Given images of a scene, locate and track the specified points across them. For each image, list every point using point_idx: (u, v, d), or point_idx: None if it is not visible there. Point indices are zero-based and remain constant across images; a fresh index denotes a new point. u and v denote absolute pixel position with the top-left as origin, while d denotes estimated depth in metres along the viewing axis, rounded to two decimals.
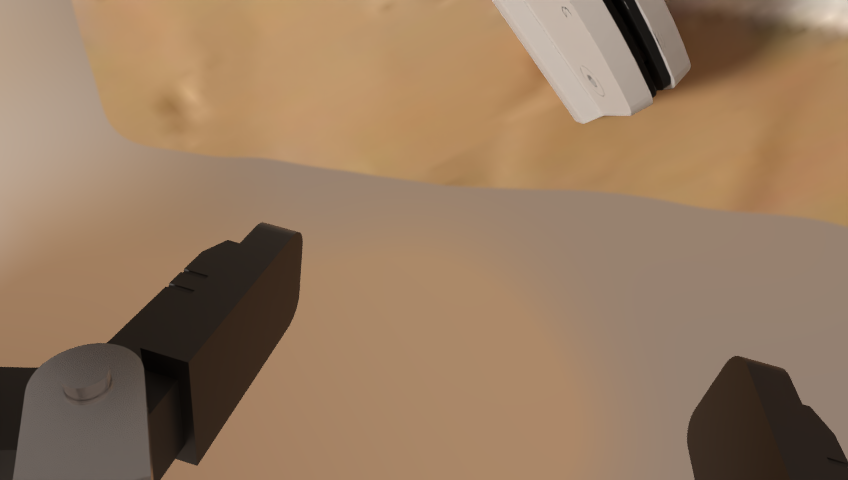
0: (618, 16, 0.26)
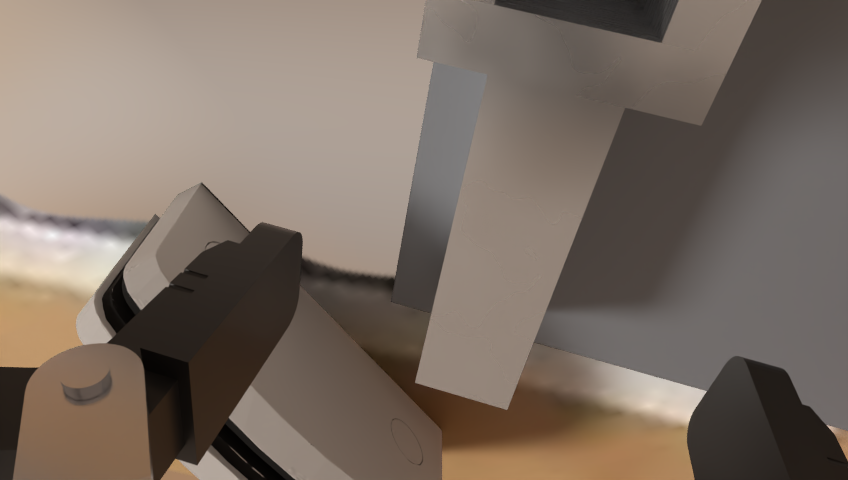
0: None
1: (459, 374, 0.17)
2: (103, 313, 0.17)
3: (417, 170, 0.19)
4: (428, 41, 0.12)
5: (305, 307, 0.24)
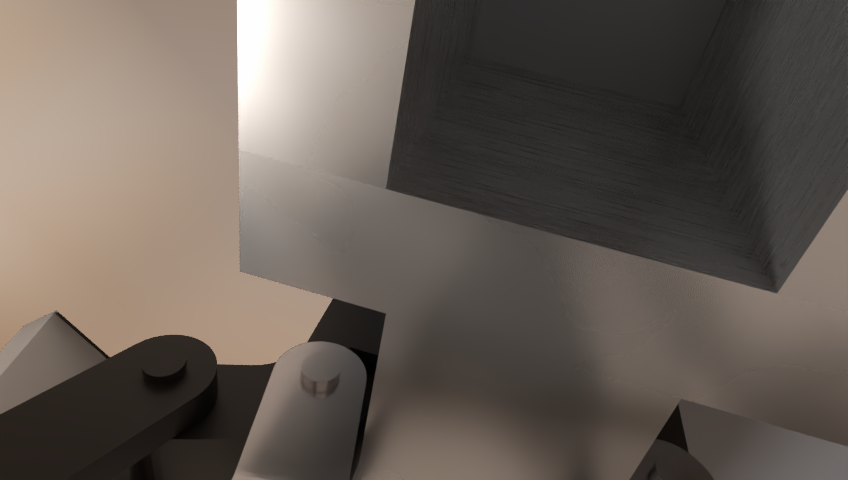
0: None
1: None
2: None
3: None
4: (257, 245, 0.06)
5: None
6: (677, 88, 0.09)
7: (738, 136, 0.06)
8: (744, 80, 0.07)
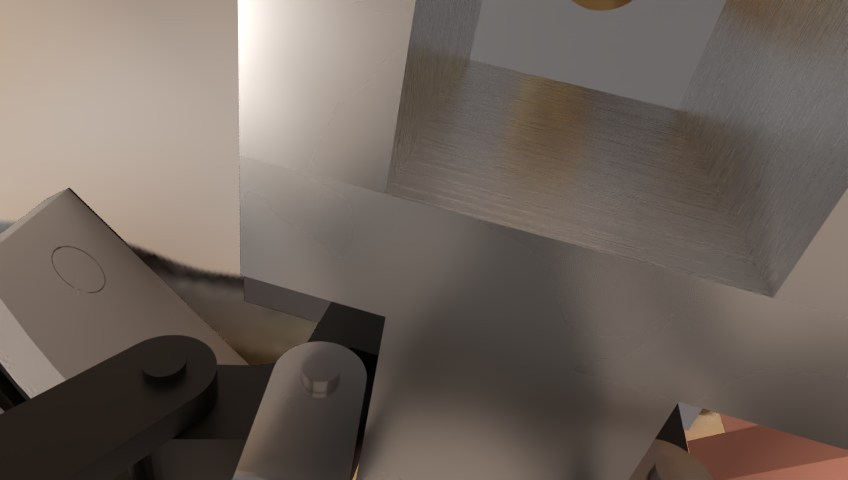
0: None
1: None
2: None
3: None
4: (258, 249, 0.06)
5: (172, 310, 0.24)
6: None
7: (736, 140, 0.06)
8: (742, 84, 0.07)
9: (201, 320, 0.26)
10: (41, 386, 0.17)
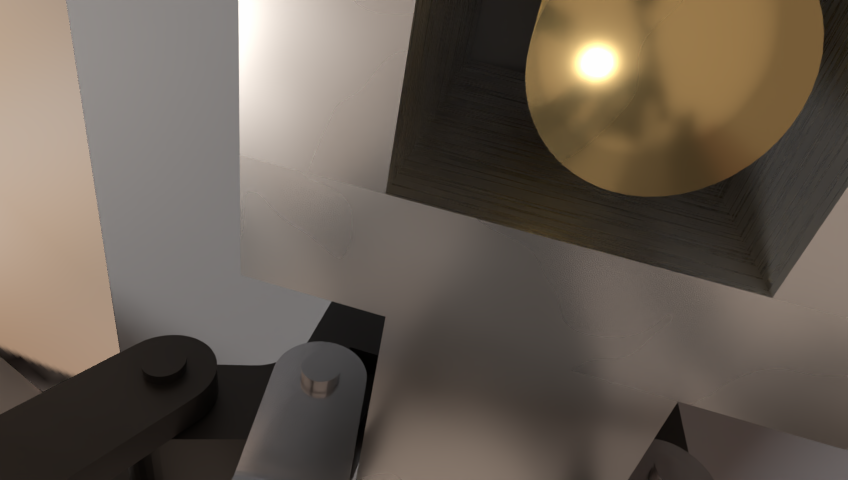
0: None
1: None
2: None
3: (111, 275, 0.14)
4: (258, 249, 0.06)
5: None
6: None
7: None
8: None
9: None
10: None
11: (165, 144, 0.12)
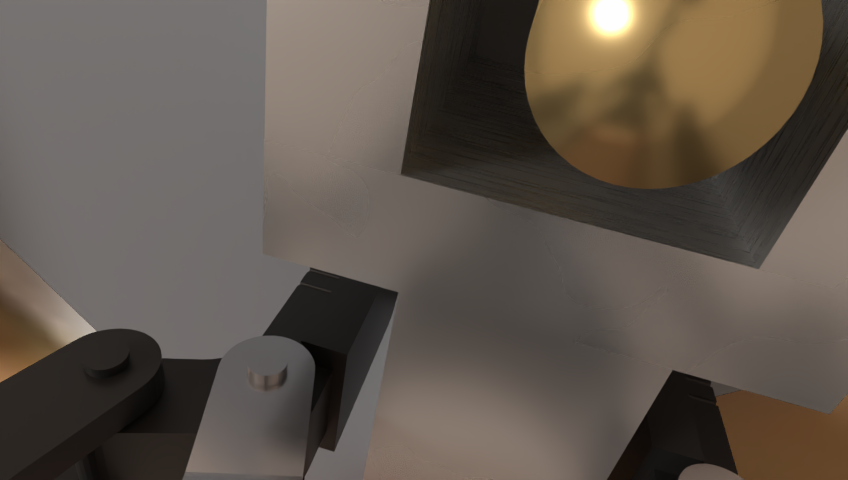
0: None
1: None
2: None
3: None
4: (280, 229, 0.06)
5: None
6: None
7: None
8: None
9: None
10: None
11: None
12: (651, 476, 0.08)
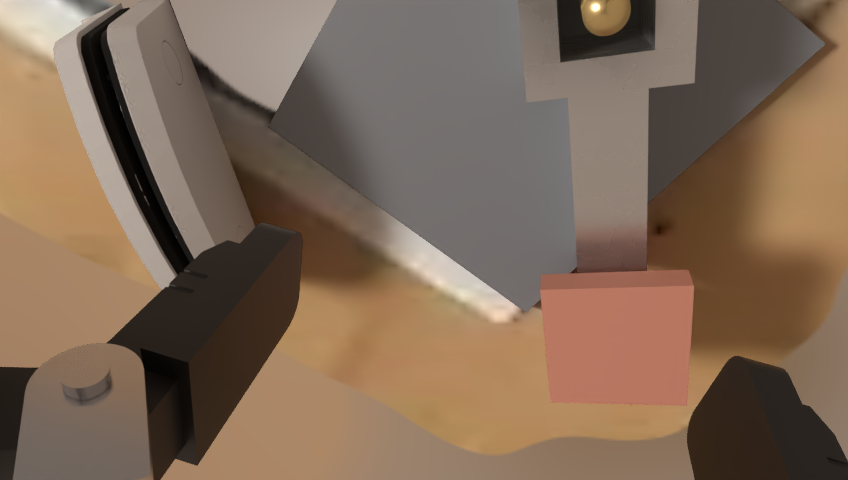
0: (167, 244, 0.27)
1: None
2: (80, 48, 0.24)
3: (320, 35, 0.28)
4: (530, 92, 0.22)
5: (209, 122, 0.31)
6: None
7: (647, 24, 0.22)
8: (645, 9, 0.23)
9: (221, 139, 0.33)
10: (149, 130, 0.25)
11: None
12: None
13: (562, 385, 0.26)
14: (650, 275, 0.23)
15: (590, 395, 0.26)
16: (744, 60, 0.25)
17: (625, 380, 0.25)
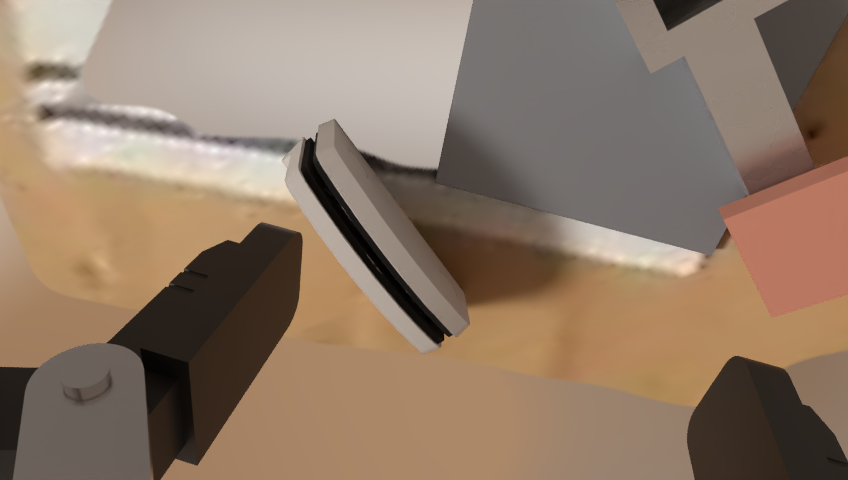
0: (401, 299, 0.34)
1: None
2: (303, 177, 0.32)
3: (455, 96, 0.34)
4: (651, 64, 0.26)
5: (391, 199, 0.39)
6: None
7: None
8: None
9: (401, 209, 0.40)
10: (367, 217, 0.32)
11: (500, 32, 0.32)
12: None
13: (777, 298, 0.28)
14: (822, 170, 0.25)
15: (808, 297, 0.28)
16: None
17: (837, 273, 0.27)
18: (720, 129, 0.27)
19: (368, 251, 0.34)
